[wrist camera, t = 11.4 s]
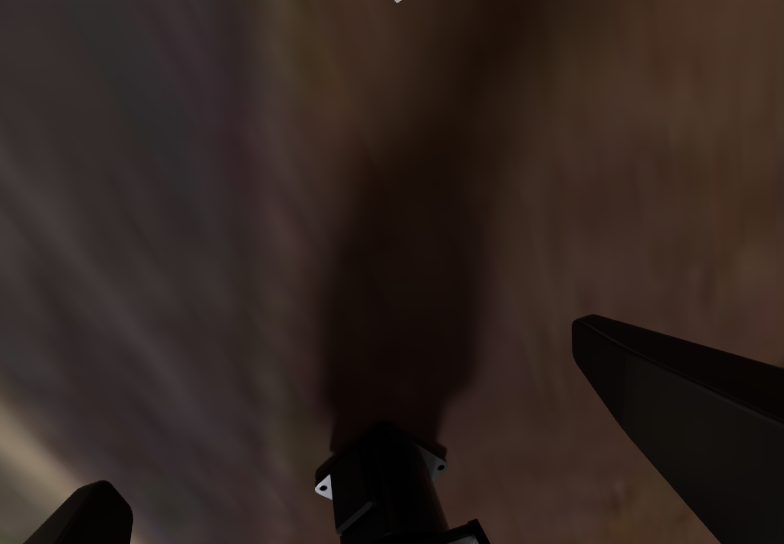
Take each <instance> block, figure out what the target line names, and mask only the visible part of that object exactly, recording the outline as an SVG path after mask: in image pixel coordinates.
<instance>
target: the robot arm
mask: <svg viewBox="0 0 784 544" xmlns="http://www.w3.org/2000/svg"><path fill="white" fill-rule="evenodd" d="M572 352H573V357H574V360H575V362H576V364H577V365H578V367H579V368H580V369H581V371H582V372H583V374H584V375H585V377H586V378H587V380H588V381H589V382H590V384H591V385H592V387H593V388H594V390H595V391H596V392H597V394H598V395H599V397H600V398H601V400H602V401H603V402H604V404H605V405H606V407H607V408H608V410H609V411H610V412H611V414H612V415H613V417H614V418H615V420H616V421H617V422H618V424H619V425H620V426H621V428H622V429H623V430H624V431H625V433H626V434H627V435H628V436H629V437H630V439H631V440H632V441H633V442H634V443H635V445H636V446H637V447H638V448H639V449H640V450H641V452H642V453H643V454H644V455H645V456H646V457H647V458H648V460H649V461H650V462H651V463H652V464H653V465H654V467H655V468H656V469H657V470H658V471H659V472H660V474H661V475H662V476H663V477H664V478H665V479H666V481H667V482H668V483H669V484H670V485H671V486H672V488H673V489H674V490H675V491H676V492H677V493H678V495H679V496H680V497H681V498H682V499H683V500H684V501H685V503H686V504H687V505H688V506H689V507H690V508H691V510H692V511H693V512H694V513H695V514H696V515H697V517H698V518H699V519H700V520H701V521H702V522H703V524H704V525H705V526H706V527H707V528H708V529H709V531H710V532H711V533H712V534H713V535H714V536H715V538H716V539H717V540H718V541H719V542H720V543H721V544H784V368H780V367H777V366H774V365H770V364H767V363H763V362H760V361H756V360H753V359H749V358H746V357H742V356H739V355H735V354H732V353H728V352H725V351H721V350H718V349H714V348H711V347H707V346H704V345H700V344H697V343H693V342H690V341H686V340H683V339H679V338H676V337H672V336H669V335H665V334H662V333H658V332H655V331H651V330H648V329H644V328H641V327H638V326H634V325H631V324H627V323H624V322H620V321H617V320H613V319H610V318H606V317H603V316H599V315H595V314H591V315H587V316H584V317H581V318H578V319H576V320H574V321H573V323H572ZM384 430H386V431H384ZM447 468H448V463H447V461H446V459H445V458H444V457H442V456H441V455H439V454H437V453H436V452H434V451H433V450H431V449H430V448H428V447H427V446H425V445H424V444H422V443H420V442H419V441H417V440H416V439H414V438H413V437H411V436H410V435H408V434H407V433H405V432H404V431H402V430H400V429H399V428H397V427H396V426H394V425H393V424H391V423H389V422H382V423H380V424H379V425H378V426H376V427H375V428H374V429H373V430H372V431H371V432H370V433H369V434H368V435H366V436H365V437H364V438H363V439H362V440H361V441H360V442H359V443H358V444H356V445H355V446H354V447H353V448H352V449H351V450H350V451H349V452H348V453H346V454H345V455H344V456H343V457H342V458H341V459H340V460H339V461H337V462H336V463H335V464H334V465H333V466H332V467H331V468H330V469H329V470H327V471H326V472H325V473H324V474H323V475H322V476H321V477H320V478H319V479H317V481H316V482H315V490H316V492H317V493H319V494H321V495H323V496H325V497H327V498H329V499H331V500H333V510H334V519H335V528H336V533H337V534H338V535H340V543H341V544H490V542H489V540H488V538H487V537H486V535H485V533H484V531H483V529H482V527H481V525H480V523H479V521H478V520H477V519H474V520H471V521H468V522H467V523H468V524H465V525H462V526H459V527H456V528H453V529H449V527H448V524H447V521H446V518H445V515H444V513H443V510H442V507H441V504H440V501H439V499H438V496H437V493H436V490H435V488H434V485H433V481H434V480H435V479H436V478H437V477H439V476H440V475H441V474H442V473H443V472H445V471H446V470H447ZM132 524H133V514H132V510H131V507H130V506H129V504H128V503H127V502H126V501H125V499H124V498H123V497H122V496H121V495H120V494H119V492H118V491H117V490H116V489H115V488H114V487H113V485H112V484H111V483H110V482H108V481H105V480H101V481H97V482H94V483H91V484H89V485H86V486H83V487H81V488H79V489H77V490H76V491H75V492H74V493H73V494H72V495H71V496H70V497H69V498H68V499H67V500H66V501H65V502H64V503H63V504H62V505H61V506H60V507H59V508H58V509H57V510H56V511H55V512H54V513H53V514H52V515H51V516H50V517H49V518H48V519H47V520H46V521H45V522H44V523H43V524H42V525H41V526H40V527H39V528H38V529H37V530H36V531H35V532H34V533H33V534H32V535H31V536H30V537H29V538H28V539H27V540H26V541H25V542H24V543H23V544H130V540H131V532H132Z"/></svg>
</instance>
